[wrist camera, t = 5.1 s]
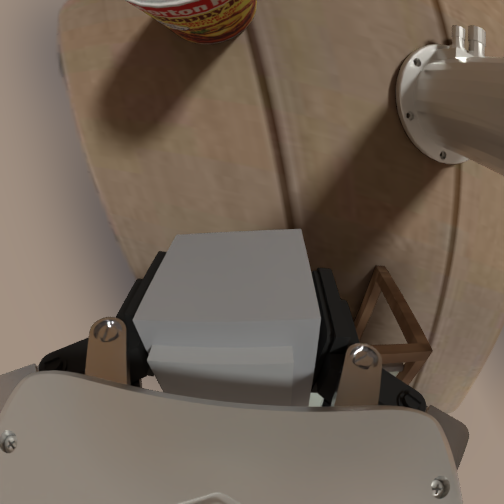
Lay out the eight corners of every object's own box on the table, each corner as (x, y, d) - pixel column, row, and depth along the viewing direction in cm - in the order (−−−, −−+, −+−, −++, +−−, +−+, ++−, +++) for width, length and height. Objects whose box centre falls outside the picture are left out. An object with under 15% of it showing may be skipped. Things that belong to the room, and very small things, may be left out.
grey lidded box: (176, 234, 12) (125, 335, 7) (300, 228, 11) (324, 335, 7) (197, 323, 14) (174, 422, 9) (298, 321, 14) (308, 425, 9)
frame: (232, 252, 30) (218, 349, 19) (384, 266, 31) (432, 350, 19) (225, 358, 39) (217, 441, 27) (343, 363, 39) (360, 440, 28)
